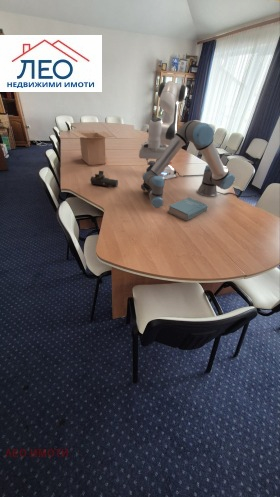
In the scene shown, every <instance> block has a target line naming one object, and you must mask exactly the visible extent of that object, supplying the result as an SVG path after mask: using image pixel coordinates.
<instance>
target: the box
mask: <svg viewBox="0 0 280 497" xmlns="http://www.w3.org/2000/svg"><path fill="white" fill-rule="evenodd" d="M70 133H71V134H72V135H74V136H75V137H77V138H79V144H80V153H81V160H83V162H85V163H86V165H87V166H95V165H97V166H98V165H106V163H107V162H106V158H107V157H106V138H113V137H114V136H113V135H111V134H109V133H108V132H105V131H98V132H96V131H95V130H92V129H91V130H77V132H76V131H70Z"/></svg>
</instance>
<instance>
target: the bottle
mask: <svg viewBox="0 0 280 497" xmlns="http://www.w3.org/2000/svg"><path fill="white" fill-rule="evenodd" d="M153 166H154V165H148V167H146V170H145V172H149V171H150V170H151V168H152V167H153ZM145 184H146V183H145ZM146 186H148V187H150V186H149V185H148V184H146ZM150 188H151V187H150ZM144 194H145V195H147V196H149V194H148V193H147V192H145V193H144Z"/></svg>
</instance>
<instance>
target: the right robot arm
mask: <svg viewBox="0 0 280 497" xmlns="http://www.w3.org/2000/svg"><path fill="white" fill-rule="evenodd" d="M176 132H177V133H176V134H175V135H174V139H173V140H172V142H171V143H170V144H169V146H168V145H167V148H166V150H165V151H164V152H163V154H162V155H161V156H160V158H159V159H158V160H157V162H156V161H155V162H156V163H155V164H154V166H153V167H152V168H151V170H150V171H149V172H146V171H145V172H144V173H143V175H142V181H143V183H142V184H141V185H140V189H141V190H142V192H143V193H144V194H145V192H147V193H148V194H149V195H148V198H149V199H150V203H151V206H153V208H155V209H158V208H162V206H163V205H164V199H163V196H164V189H165V179H164V177H162V176H160V174H161V173H162V172H163V171H164V169H165V168H166V167H167V165H168V164H169V163H170V162H172V160H173V159H174V158H175V157H176V156H177V154H178V153H179V151H180V150H181V149H182V147H183V146H186V145H187V144H188V143H189V142H190V143H191V144H193V146H194V148H195V149H196V151H199V152H200V153H201V155H202V157H203V159H204V160H205V163H206V165H205V168H204V171H203V174H202V179H201V183H200V185H199V187H198V189H197V192H196V193H197V194H198V195H199V196H200V197H201V196H202V197H204V198H205V197H206V198H215V197H216V196H217V194H220V195H223V196H224V195H225V196H226V195H229V194H231V195H233V196H236V197H239V198H251V197H255V198H257V195H256V194H251V195H238V194H236V193H234V192H226V193H223V192H220V191H218V190H217V187H218V188H220V189H221V190H228V189H230V188H231V187H232V186H233V184H234V183H235V180H236V176H235V175H234V174H233V173H231V172H230V170H229V168H228V167H227V166H226V165H224V163H223V161H222V159H221V156H220V155H219V153H218V151H217V149H216V147H215V145H214V138H215V137H214V136H215V130H214V128H213V127H212V126H211V125H210V124H208V123H206V122H201V121H198V120H189V121H187V122H185V123H184V124H183V125H181V127H180V128H179V129H178V130H177V131H176ZM169 165H170V164H169ZM145 183H146V184H148V185H149V186H150V187H151V188H150V187H148V186H146V184H145Z"/></svg>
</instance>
